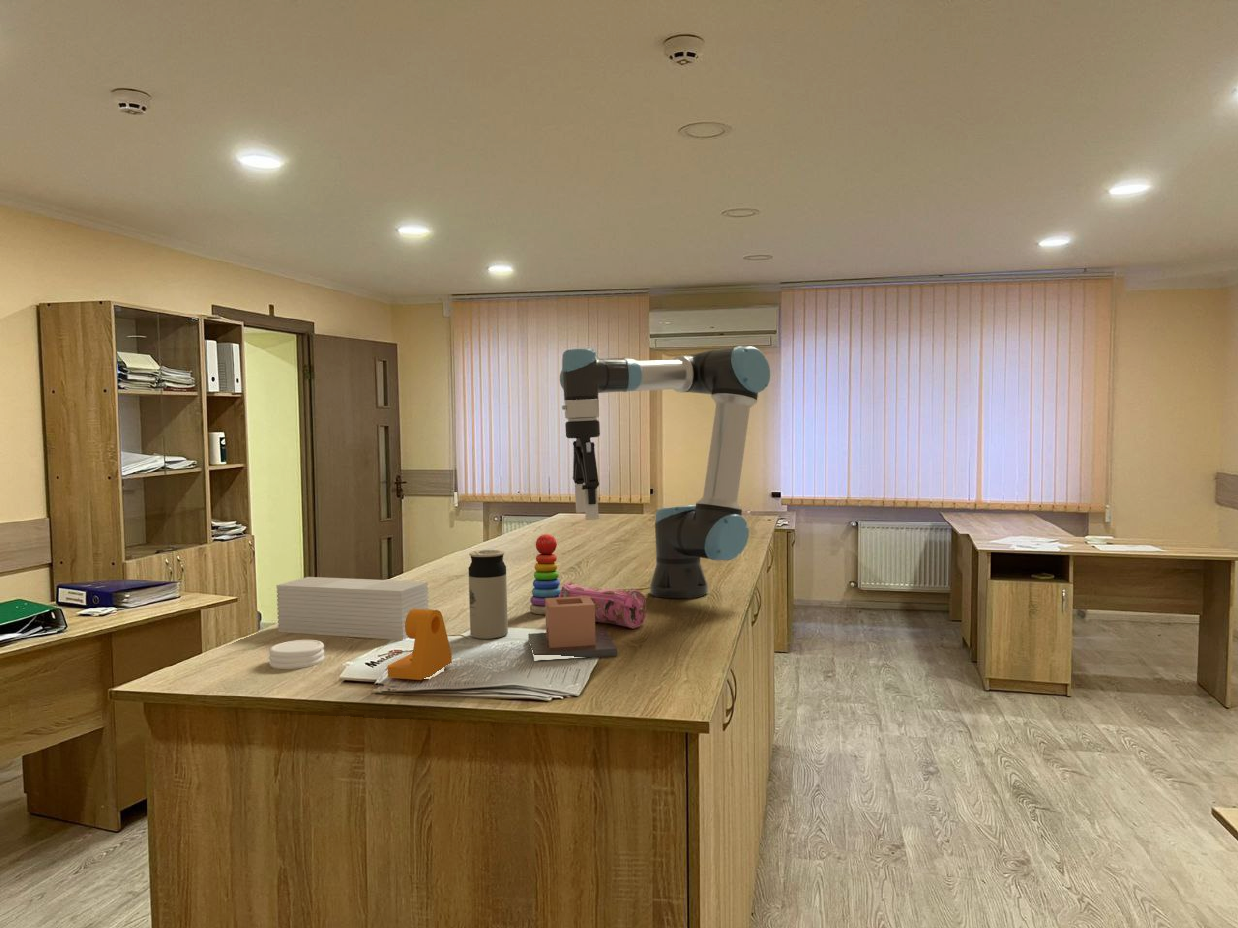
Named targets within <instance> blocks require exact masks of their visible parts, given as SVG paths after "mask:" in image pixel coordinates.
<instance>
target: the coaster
mask: <svg viewBox="0 0 1238 928" xmlns="http://www.w3.org/2000/svg"><path fill="white" fill-rule="evenodd" d="M324 648H325V644H324V643H323V642H322V641H320V640H316V639H296V640H289V641H285V642H280V643H277V644H275V645H272V646H271V647H270V648H269V650H268V652H269V653H268V654H269V657H268V659H269V667H271V668H273V669H276V670H277V669H278V670H297V669H305V668H308V667H313V666H316V665H319V664H322V662H324V660H325V658H326V657H325V649H324Z"/></svg>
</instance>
